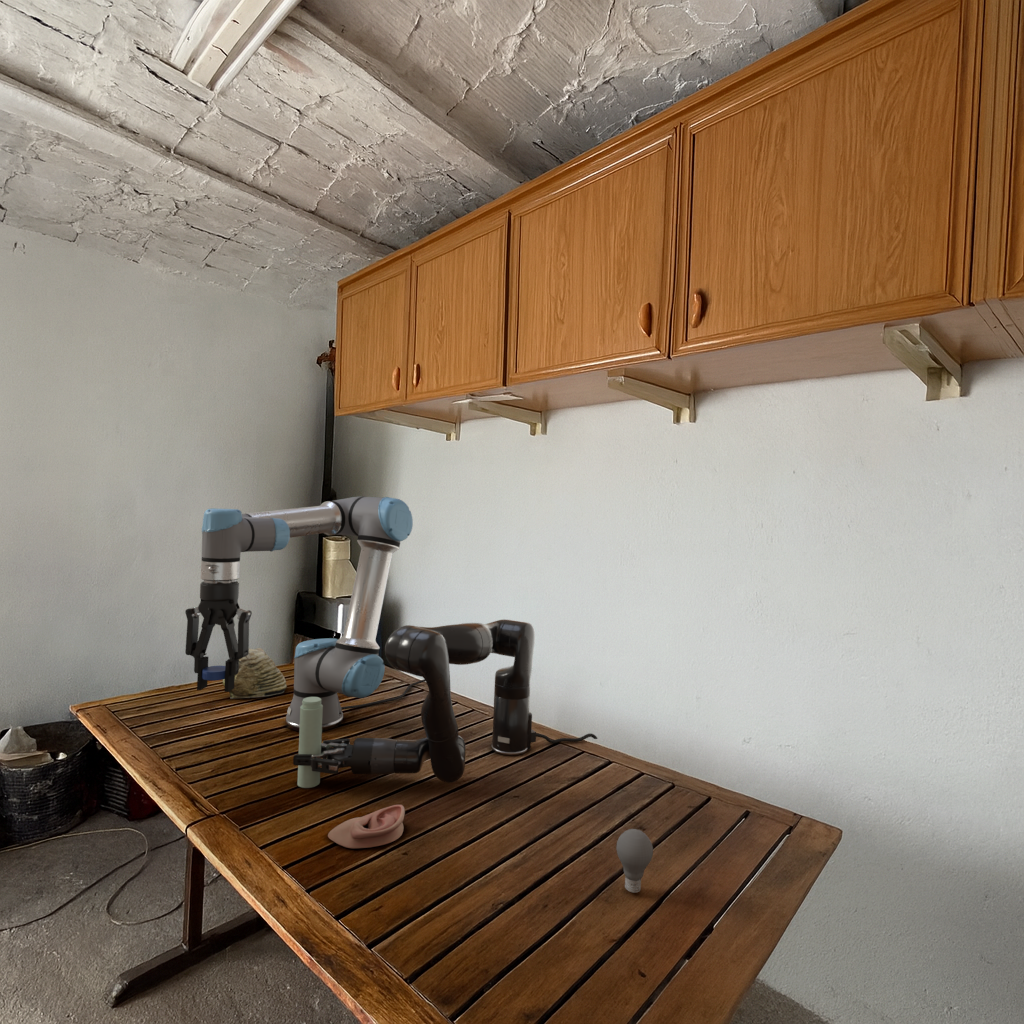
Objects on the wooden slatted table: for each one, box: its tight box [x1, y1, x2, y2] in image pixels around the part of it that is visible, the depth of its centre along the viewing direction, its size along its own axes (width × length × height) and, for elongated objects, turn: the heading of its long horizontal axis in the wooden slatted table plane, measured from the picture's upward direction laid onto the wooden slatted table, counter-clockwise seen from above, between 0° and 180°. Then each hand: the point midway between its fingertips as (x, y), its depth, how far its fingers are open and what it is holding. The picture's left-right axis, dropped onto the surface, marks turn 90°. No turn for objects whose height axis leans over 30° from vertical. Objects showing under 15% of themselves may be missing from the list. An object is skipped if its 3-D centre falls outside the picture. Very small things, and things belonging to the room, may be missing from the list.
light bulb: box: [615, 828, 654, 894], centre depth 106 cm, size 6×6×10 cm
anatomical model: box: [327, 804, 406, 849], centre depth 120 cm, size 13×4×12 cm
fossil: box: [222, 647, 288, 699], centre depth 198 cm, size 9×18×15 cm, turn 132°
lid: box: [202, 665, 225, 682], centre depth 135 cm, size 5×6×2 cm
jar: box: [296, 697, 323, 789], centre depth 140 cm, size 5×5×19 cm
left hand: (215, 688), depth 135 cm, fingers closed on lid, 5 cm apart
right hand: (297, 754), depth 139 cm, fingers closed on jar, 4 cm apart
